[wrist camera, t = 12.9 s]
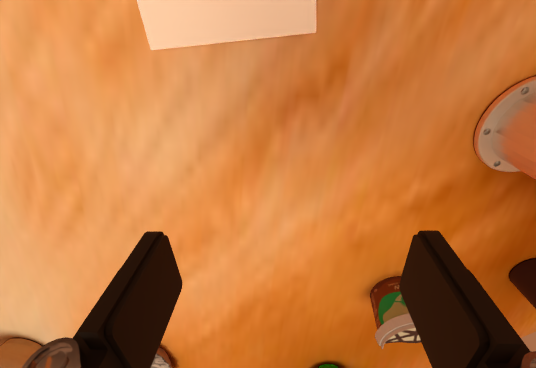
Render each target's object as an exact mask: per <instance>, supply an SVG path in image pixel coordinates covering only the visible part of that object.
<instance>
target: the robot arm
mask: <svg viewBox="0 0 536 368" xmlns="http://www.w3.org/2000/svg"><path fill="white" fill-rule="evenodd" d="M474 148H475V151H476V154H477V156H478V157H479V159H480V160H481V161H482V162H484V163H485V164H486V165H488V166H489V167H491V168H492V169H495V170H498V171H503V172H519V171H522V172H524V173H525V174H527V175H529V176H530V177H532V178H534V179H535V180H536V76H535V77H531V78H529V79H527V80H524V81H522V82H520V83H518V84H516V85H515V86H513V87H511V88H509V89H508V90H507V91H506V92H504V93H503V94H502V95H500V96H499V97H498V98H497V99H496V100H495V101H494V102H493V103H492V104H491V105H490V106H489V108H488V109H487V110H486V112H485V113H484V114H483V116H482V118H481V120H480V121H479V123H478V126H477V128H476V131H475V136H474ZM399 288H400V292H401V295H402V297H403V300H404V302H405V304H406V307H407V309H408V312H409V314H410V316H411V319H412V321H413V323H414V326H415V328H416V330H417V333H418V335H419V337H420V340H421V342H422V344H423V347H424V349H425V351H426V354H427V356H428V359H429V361H430V363H431V366H432V368H536V351H534V352H530V351H529V349H528V348H527V346H526V345H525V344H524V342H523V341H522V340H521V338H520V337H519V335H518V334H517V333H516V331H515V330H514V329H513V327H512V326H511V325H510V323H509V322H508V321H507V319H506V318H505V317H504V315H503V314H502V313H501V311H500V310H499V309H498V307H497V306H496V305H495V303H494V302H493V301H492V299H491V298H490V297H489V295H488V294H487V293H486V291H485V290H484V289H483V287H482V286H481V285H480V283H479V282H478V281H477V279H476V278H475V276H474V275H473V274H472V273H471V272H470V271H469V270H468V269H467V268H466V267H465V266H464V264H463V263H462V262H461V260H460V259H459V258H458V256H457V255H456V253H455V252H454V251H453V249H452V248H451V247H450V245H449V244H448V243H447V241H446V240H445V239H444V237H443V236H442V235H441V233H440V232H439V231H419V232H418V234H417V235H414V236H413V239H412V242H411V246H410V249H409V252H408V256H407V259H406V263H405V266H404V270H403V273H402V276H401V280H400V284H399ZM181 289H182V279H181V276H180V273H179V270H178V267H177V264H176V261H175V257H174V254H173V251H172V248H171V245H170V242H169V239H168V236H167V235H164V234H163V232H146V233H145V234H144V235H143V236H142V238H141V239H140V241H139V242H138V244H137V245H136V247H135V248H134V250H133V251H132V253H131V254H130V256H129V257H128V259H127V260H126V261H125V263H124V264H123V266H122V267H121V269H120V270H119V271H118V272H117V274H116V275H115V277H114V278H113V280H112V281H111V283H110V284H109V285H108V287H107V288H106V290H105V291H104V293H103V294H102V296H101V297H100V299H99V300H98V302H97V303H96V305H95V306H94V308H93V309H92V310H91V312H90V313H89V315H88V316H87V318H86V319H85V321H84V322H83V324H82V325H81V327H80V328H79V330H78V331H77V333H76V334H75V336H74V337H73V338H66V337H65V338H60V339H56V340H54V341H51V342H49V343H47V344H46V345H44V346H42V347H41V348H39V349H38V350H37V351H36V352H35V353H34V354H32V355H31V356H30V358H29V359H28V360H27V361H26V362H25V363H24V365H23V367H22V368H151V366H152V363H153V361H154V358H155V355H156V353H157V350H158V348H159V345H160V343H161V340H162V338H163V335H164V333H165V330H166V328H167V325H168V322H169V320H170V317H171V315H172V312H173V310H174V307H175V305H176V302H177V300H178V297H179V295H180V292H181Z"/></svg>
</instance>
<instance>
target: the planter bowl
mask: <svg viewBox="0 0 536 368" xmlns="http://www.w3.org/2000/svg"><path fill="white" fill-rule="evenodd" d="M41 347H42V346H41V345H39V344H38V343H35V342H33V341H30V340H26V339H21V338H14V339H9V340H7V341H6V342H5V343H4V344H3V345H1V346H0V368H22V367H23V365H24V363H25V362H26V361H27V360H28V359H29V358H30V356H31V355H32V354H34V353H35V352H36V351H37V350H38V349H39V348H41Z"/></svg>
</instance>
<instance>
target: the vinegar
mask: <svg viewBox="0 0 536 368" xmlns="http://www.w3.org/2000/svg"><path fill="white" fill-rule="evenodd" d="M509 278H510V281H511V282H512V283H513V284H514V285H515V286H516V287H517V289H518V290H519V291H520V292H521V293H522V294H523V295H524V296H525V297H526V298H527V300H528V301H529V302H530V303H531V304H532V305H533V306H534V307H535V308H536V259H531V260H527V261H524V262H522V263H520V264H518V265H517V266H516V267H514V268H513V270H512V271H511V273H510V275H509Z"/></svg>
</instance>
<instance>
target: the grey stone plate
mask: <svg viewBox="0 0 536 368" xmlns="http://www.w3.org/2000/svg"><path fill="white" fill-rule="evenodd" d="M151 368H173V367H172V366H171V362H170V359H169V357H168V355H167V353H166V352H165V351H164V350H163V349H162V348H160V347H159V348H158V350H157V353H156V355H155V358H154V361H153V363H152V366H151Z"/></svg>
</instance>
